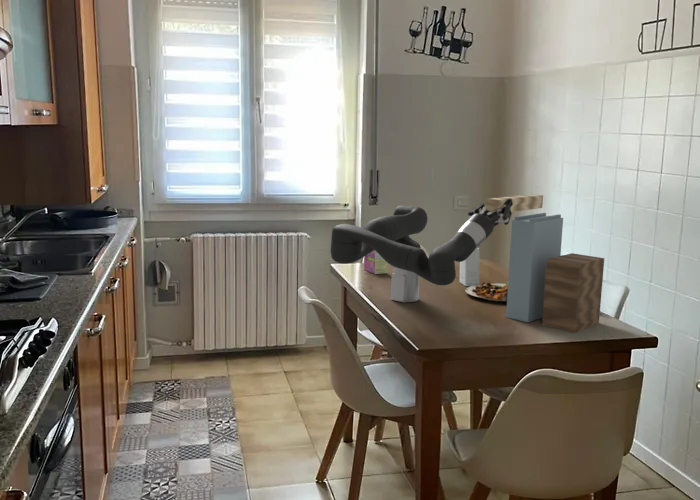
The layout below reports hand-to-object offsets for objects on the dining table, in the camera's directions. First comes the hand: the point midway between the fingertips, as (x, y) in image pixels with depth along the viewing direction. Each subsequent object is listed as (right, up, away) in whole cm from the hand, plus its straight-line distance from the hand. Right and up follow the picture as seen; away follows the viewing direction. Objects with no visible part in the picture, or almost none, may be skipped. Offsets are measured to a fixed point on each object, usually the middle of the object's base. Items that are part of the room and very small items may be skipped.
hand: (504, 200), depth 209 cm
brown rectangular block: (+4, -3, +5) cm, 7 cm away
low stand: (+24, -38, +12) cm, 46 cm away
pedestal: (+14, -36, +21) cm, 44 cm away
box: (-36, -24, +85) cm, 96 cm away
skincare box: (0, -29, +65) cm, 71 cm away
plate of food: (+10, -32, +47) cm, 58 cm away
